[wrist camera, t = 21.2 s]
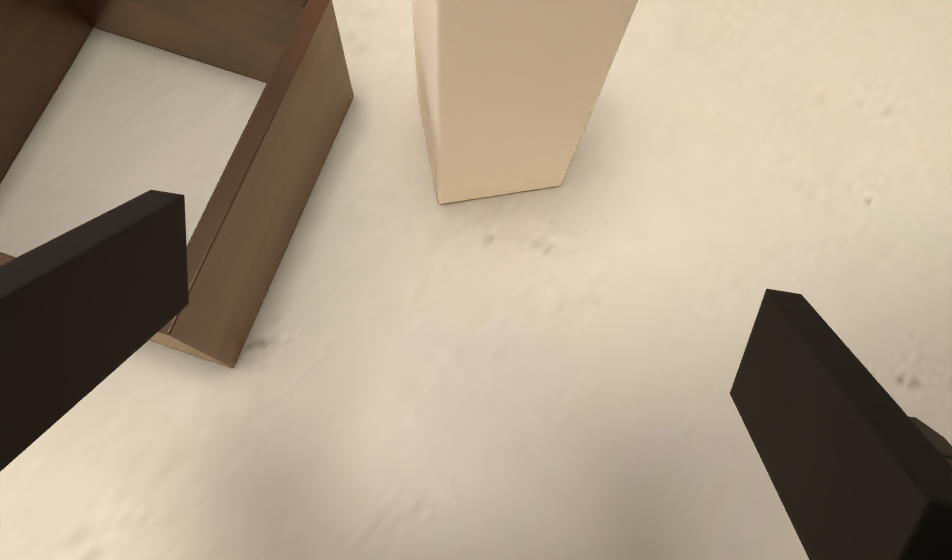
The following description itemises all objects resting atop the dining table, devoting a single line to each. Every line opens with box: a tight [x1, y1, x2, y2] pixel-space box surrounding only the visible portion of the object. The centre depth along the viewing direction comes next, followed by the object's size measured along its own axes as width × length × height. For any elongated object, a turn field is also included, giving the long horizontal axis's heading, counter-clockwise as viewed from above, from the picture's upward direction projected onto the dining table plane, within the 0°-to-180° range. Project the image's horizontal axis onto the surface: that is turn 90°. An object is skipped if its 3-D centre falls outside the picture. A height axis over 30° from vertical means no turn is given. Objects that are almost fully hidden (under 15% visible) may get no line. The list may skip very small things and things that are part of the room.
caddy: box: [0, 0, 353, 368], centre depth 27 cm, size 14×14×7 cm
